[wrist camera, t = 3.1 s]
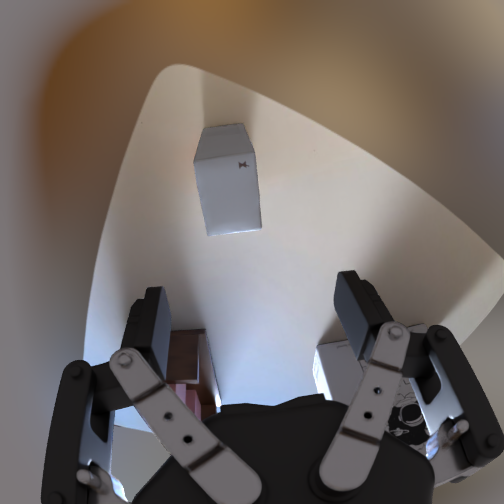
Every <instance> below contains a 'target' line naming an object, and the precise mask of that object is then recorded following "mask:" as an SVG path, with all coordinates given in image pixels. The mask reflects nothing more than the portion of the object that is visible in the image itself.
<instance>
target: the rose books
mask: <svg viewBox="0 0 504 504" xmlns="http://www.w3.org/2000/svg"><path fill="white" fill-rule="evenodd" d="M168 385H169V386H170V387H171V388H172V390H173V391H174V392H175V393H176V394H177V395H178V396H179V398H180V399H181V400H182V401H183V402H184V403H185V404H186V406H187V407H188V408H189V409H190V410H191V411H192V412H193V413H194V414H195V415H196V416H197V418H198V419H199V420H200V421H201V404H200V401H199V399H198V396H197V393H196V390H186V384H168Z"/></svg>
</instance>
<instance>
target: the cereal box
mask: <svg viewBox="0 0 504 504" xmlns="http://www.w3.org/2000/svg"><path fill="white" fill-rule="evenodd" d="M407 329H408V330H409V332H415V333H426V332H427V330H428V328H427V327H426V325H425V324H420V325H416V326H412V327H408V328H407ZM366 365H367V362H366V360H360V361H357V360H356V357H355V355H354V352H353V350H352V348H351V345H350V343H349V340H346V341H340V342H335V343H329V344H323V345H318V346H316V352H315V359H314V365H313V374H314V378H315V382H316V385H317V389H318V392H319V393H324V396H325V399H326V400H334V401H338V402H341V403H344V404H346V405H348V406H349V405H350V403H351V401H352V398H353V396H354V394H355V392H356V389H357V387H358V385H359V382H360V380H361V377H362V375H363V373H364V370H365V368H366ZM385 430H386V431H387V432H389V433H390V434H392V435H393V436H395V437H397V438H398V439H400V440H401V441H403V442H404V443H406V444H408V445H409V446H411V447H412V448H414V449H415V450H417V451H419V452H420V453H422V454H423V455H424V456H426V457H427V449H426V444H427V441H428V439H429V437H430V433H429V430H428V427H427V424H426V422H425V419H424V416H423V414H422V411H421V408H420V406H419V403H418V401H417V398H416V396H415V393H414V390H413V388H412V386H411V383H410V381H409V378H402V379H401V382H400V386H399V389H398V392H397V395H396V399H395V402H394V405H393V408H392V411H391V414H390V417H389V419H388V422H387V425H386V428H385Z"/></svg>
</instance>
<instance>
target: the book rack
mask: <svg viewBox="0 0 504 504" xmlns="http://www.w3.org/2000/svg"><path fill="white" fill-rule="evenodd" d="M162 382H163V383H165V382H166V383H167V384H186V390H196V393H197V396H198V399H199V401H200V404H201V421H202V420H204V419H205V418H207V417H209V416H211V415H213V414H216V413H217V406H220V405H222V402H221V398H220V394H219V389H218V385H217V381H216V376H215V372H214V367H213V363H212V358H211V353H210V349H209V344H208V339H207V334H206V329H196V330H179V331H170V340H169V349H168V358H167V368H166V379H165V381H162Z"/></svg>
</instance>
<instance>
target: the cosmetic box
mask: <svg viewBox="0 0 504 504" xmlns="http://www.w3.org/2000/svg"><path fill="white" fill-rule="evenodd" d="M194 169H195V176H196V182H197V188H198V192H199V197H200V201H201V206H202V211H203V216H204V221H205V226H206V231H207V235H208V236H213V235H220V234H229V233H238V232H246V231H255V230H261V229H262V222H261V211H260V194H259V186H258V175H257V165H256V156H255V151H254V148H253V146H252V144H251V141H250V139H249V136H248V134H247V132H246V129H245V127H244V124H243V123H240V124H232V125H224V126H217V127H210V128H204V129H203V130H202V134H201V137H200V140H199V144H198V147H197V151H196V155H195V158H194Z"/></svg>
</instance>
